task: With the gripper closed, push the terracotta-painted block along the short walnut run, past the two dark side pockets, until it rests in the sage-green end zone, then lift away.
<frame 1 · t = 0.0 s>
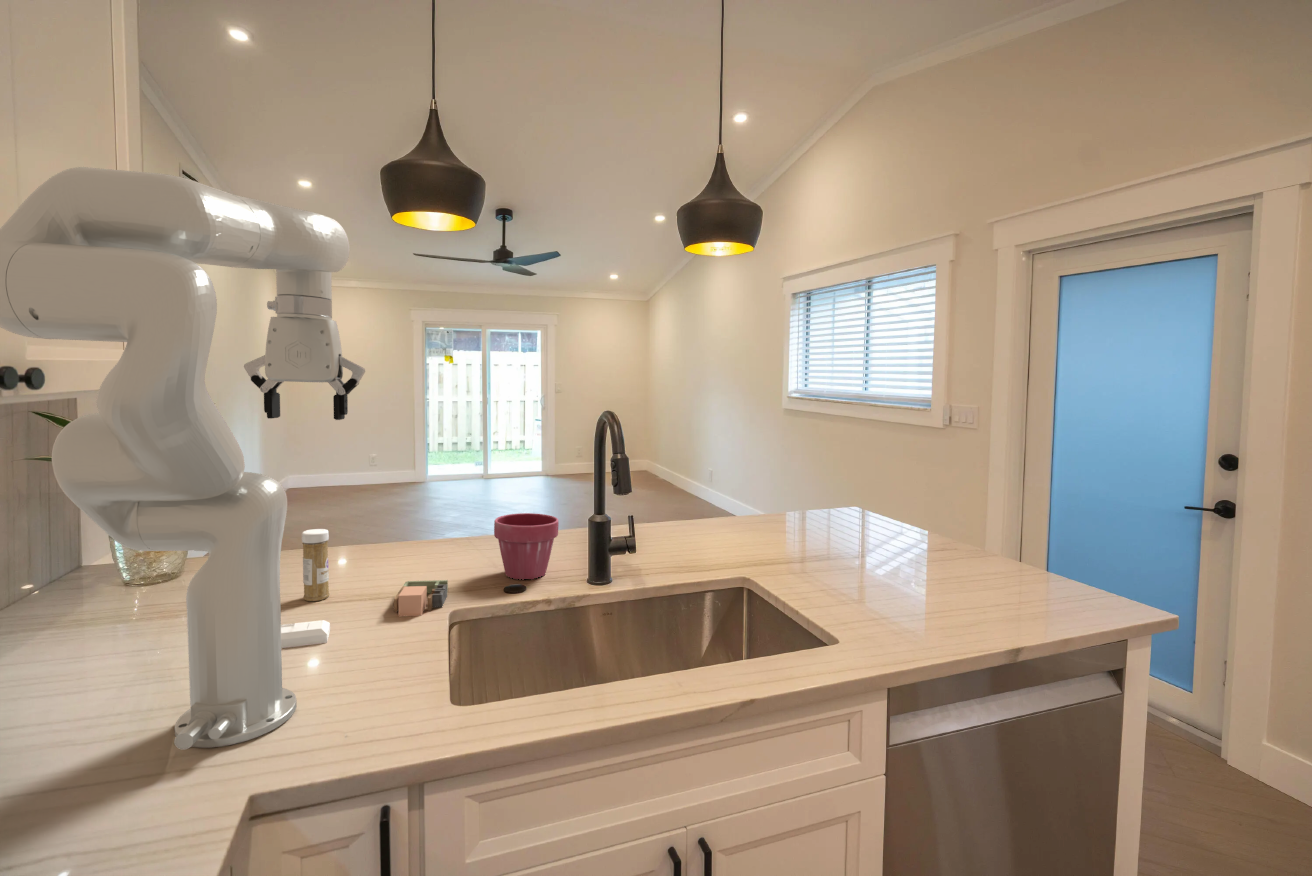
hand: (306, 418, 96), 37 cm above the worktop, tool pointing down, fingers open, 9 cm apart
block: (412, 611, 113), on the worktop
white boxy piece: (297, 643, 99), on the worktop
sprinkles bottle: (316, 598, 118), on the worktop
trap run: (419, 601, 118), on the worktop
plant pot: (525, 574, 137), on the worktop
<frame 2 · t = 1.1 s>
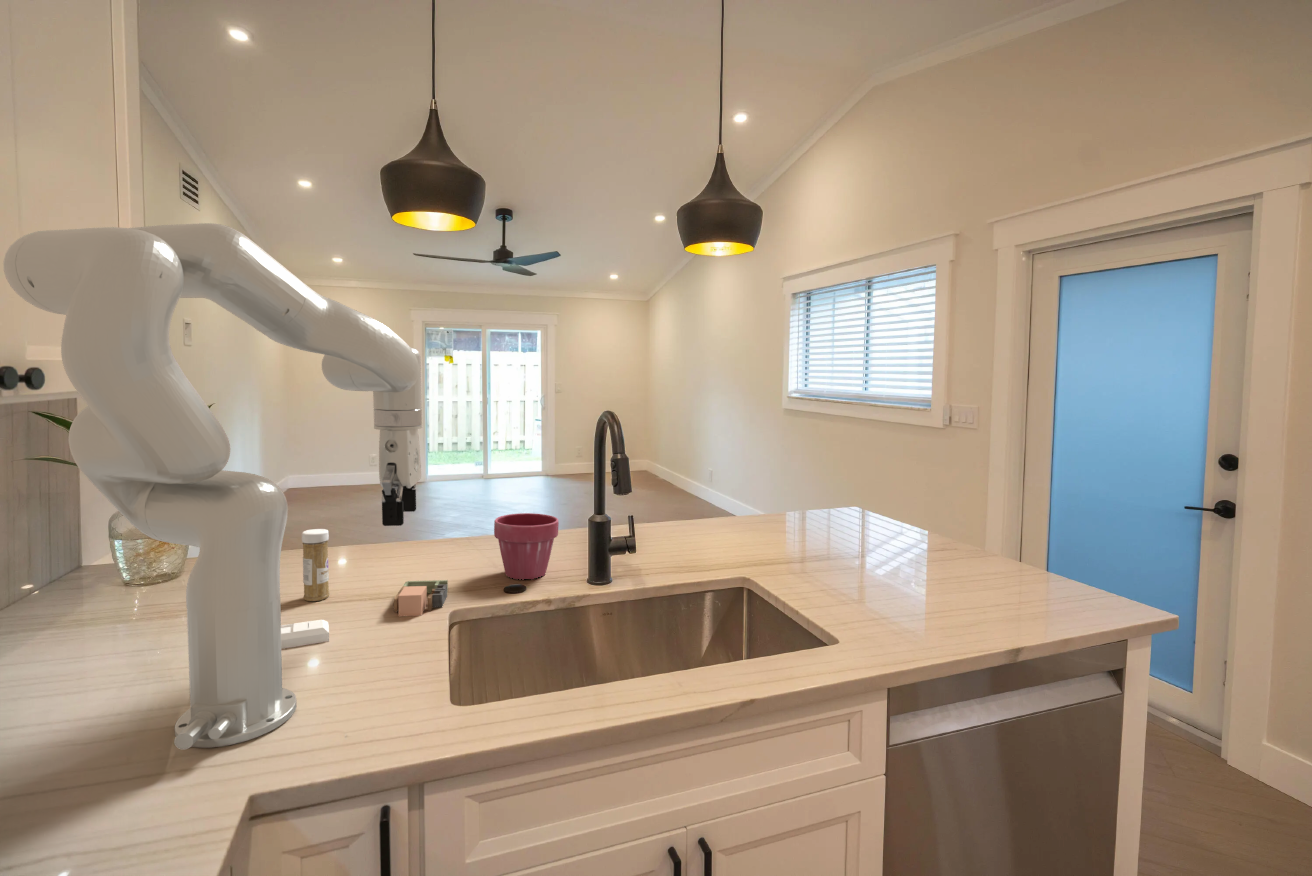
hand: (400, 517, 104), 20 cm above the worktop, tool pointing down, fingers open, 9 cm apart
nothing on the worktop moved.
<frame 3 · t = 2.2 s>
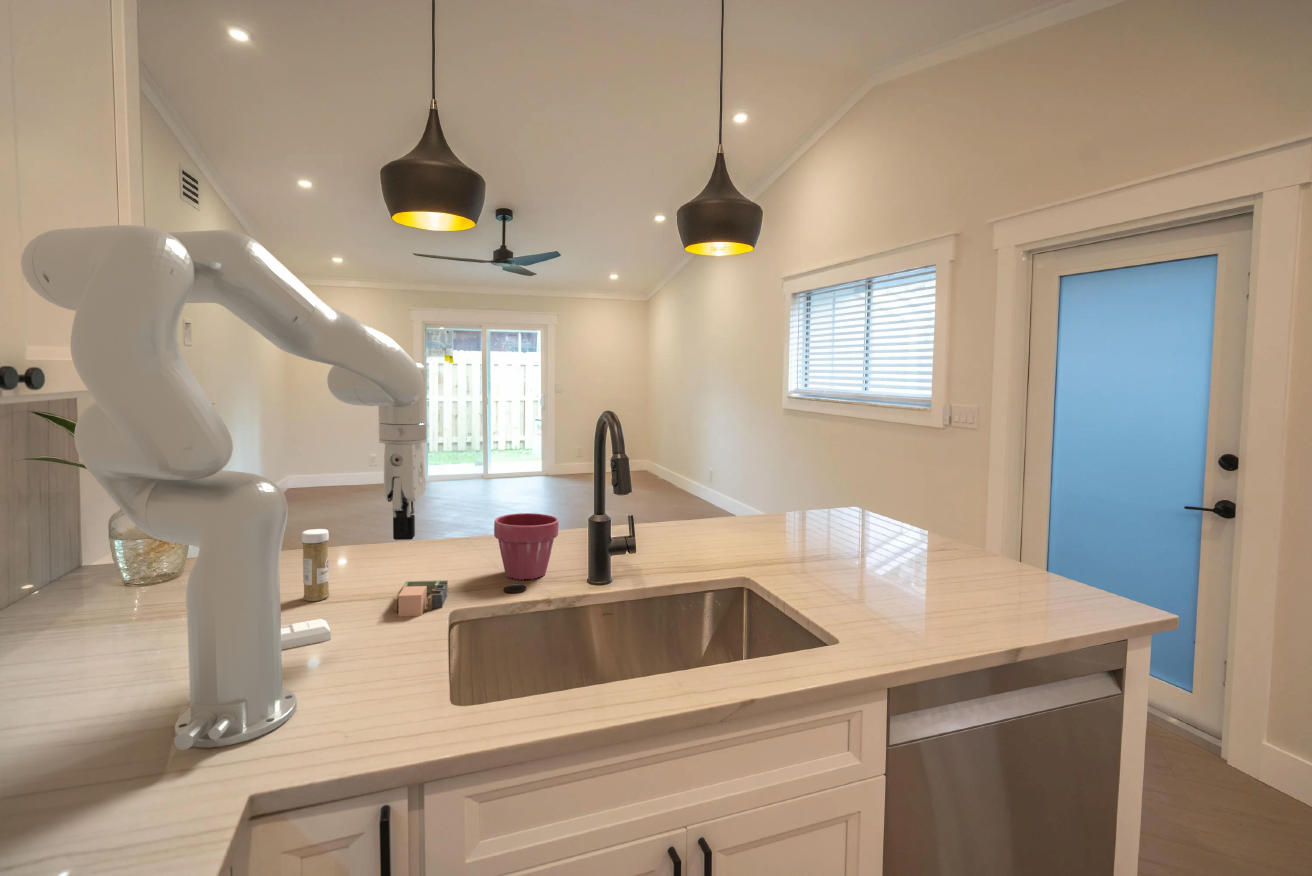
hand: (404, 538, 104), 16 cm above the worktop, tool pointing down, fingers closed
nothing on the worktop moved.
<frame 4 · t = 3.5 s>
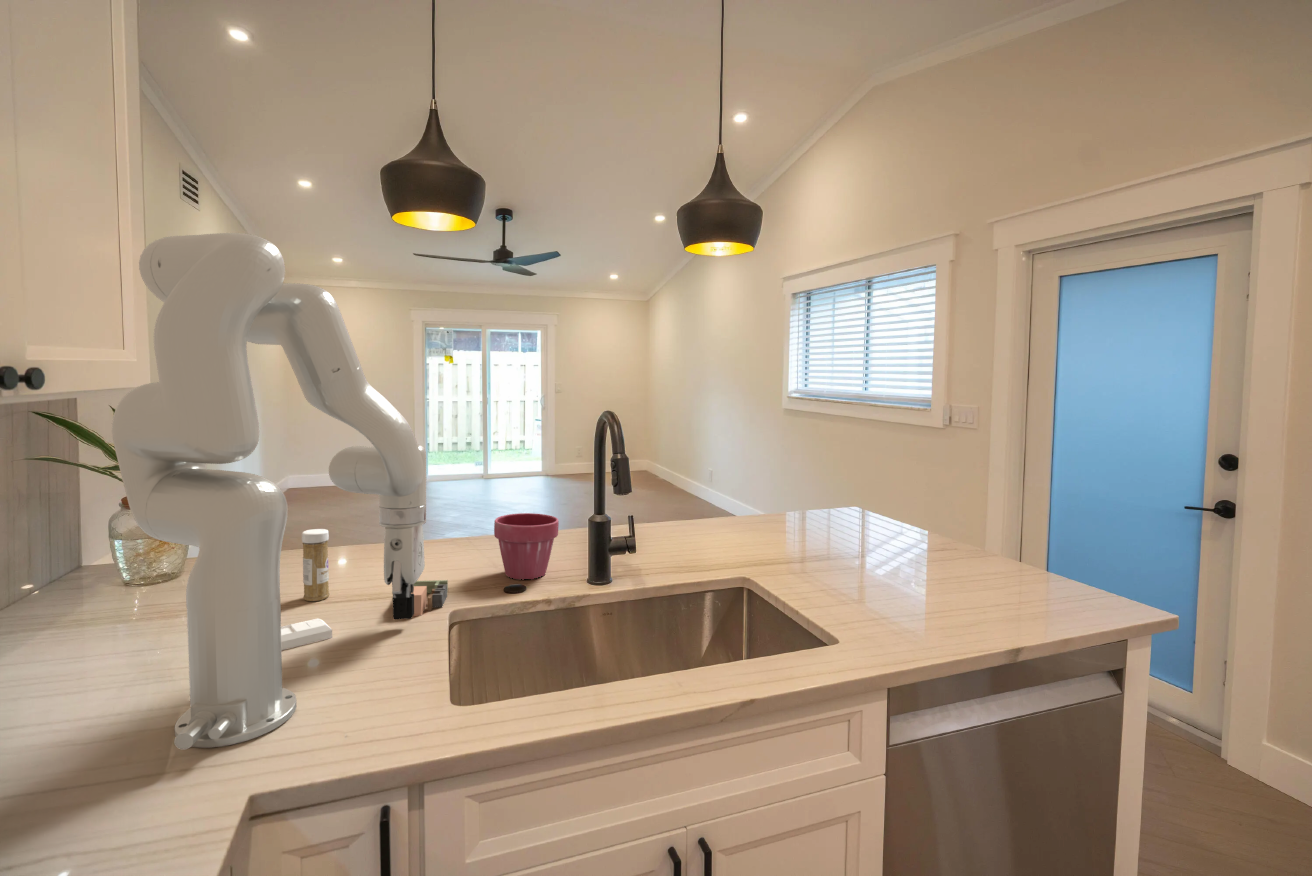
hand: (403, 617, 105), 2 cm above the worktop, tool pointing down, fingers closed
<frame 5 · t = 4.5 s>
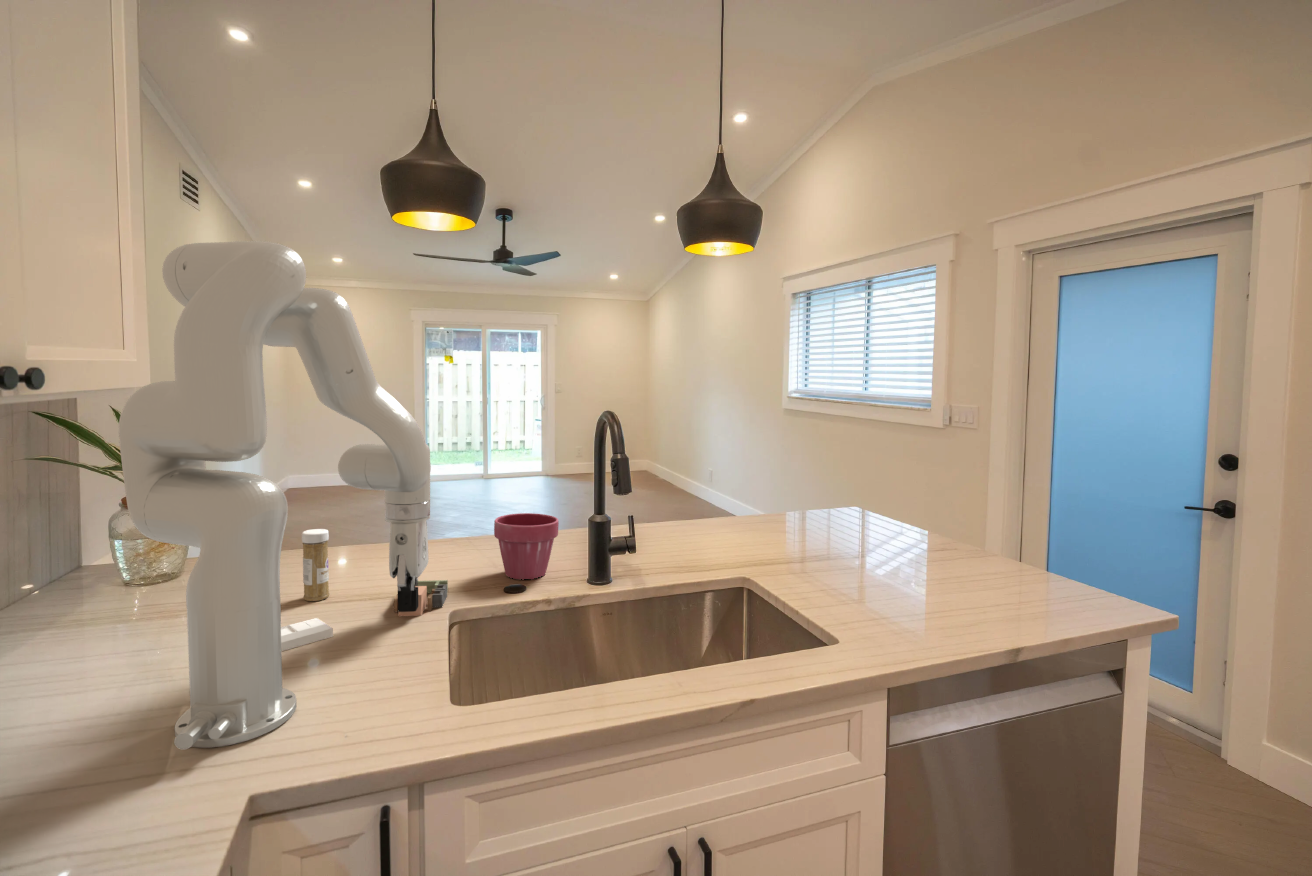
hand: (408, 609, 109), 2 cm above the worktop, tool pointing down, fingers closed
block: (412, 611, 113), on the worktop, touching gripper
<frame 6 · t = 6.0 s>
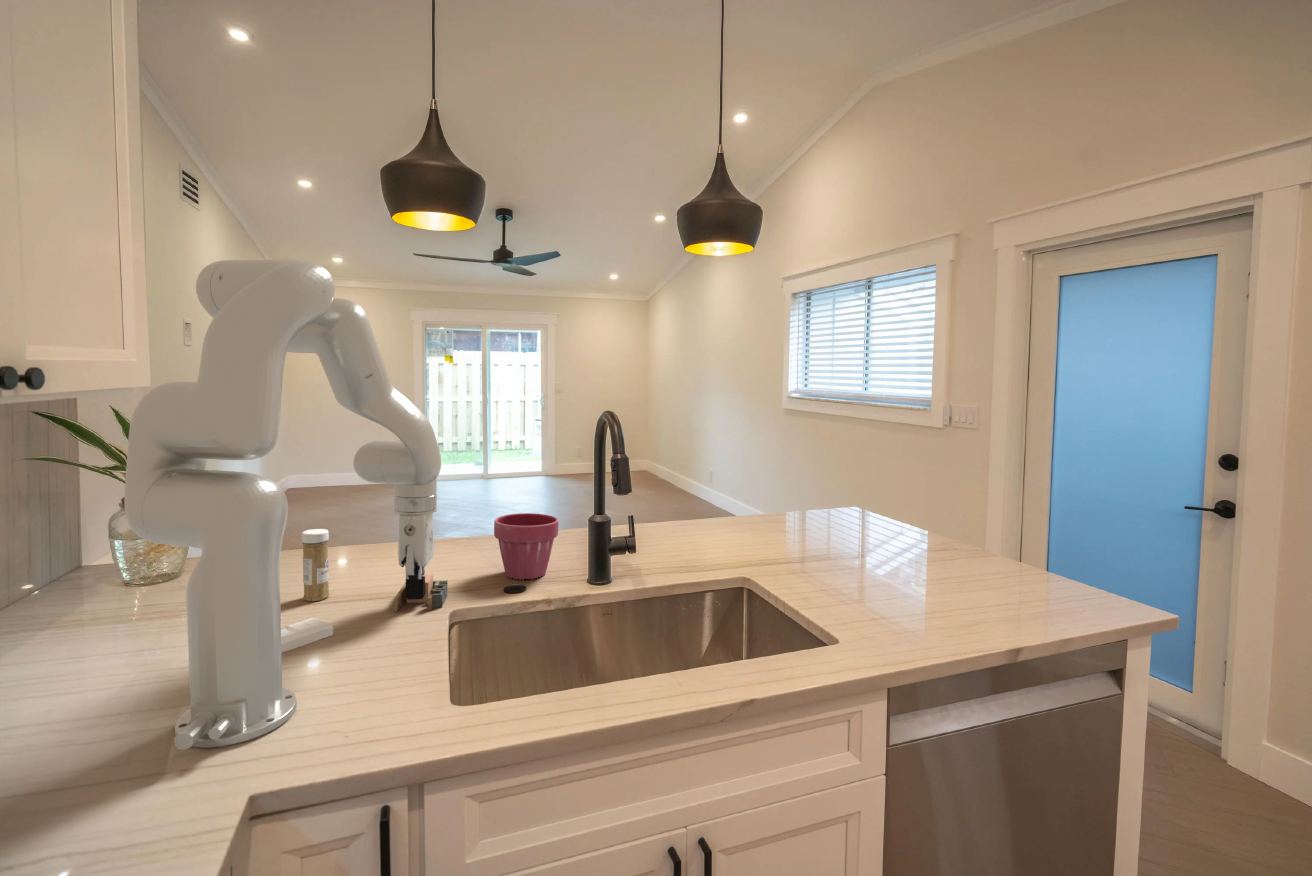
hand: (415, 597, 115), 2 cm above the worktop, tool pointing down, fingers closed
block: (420, 598, 120), on the worktop, touching gripper, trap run
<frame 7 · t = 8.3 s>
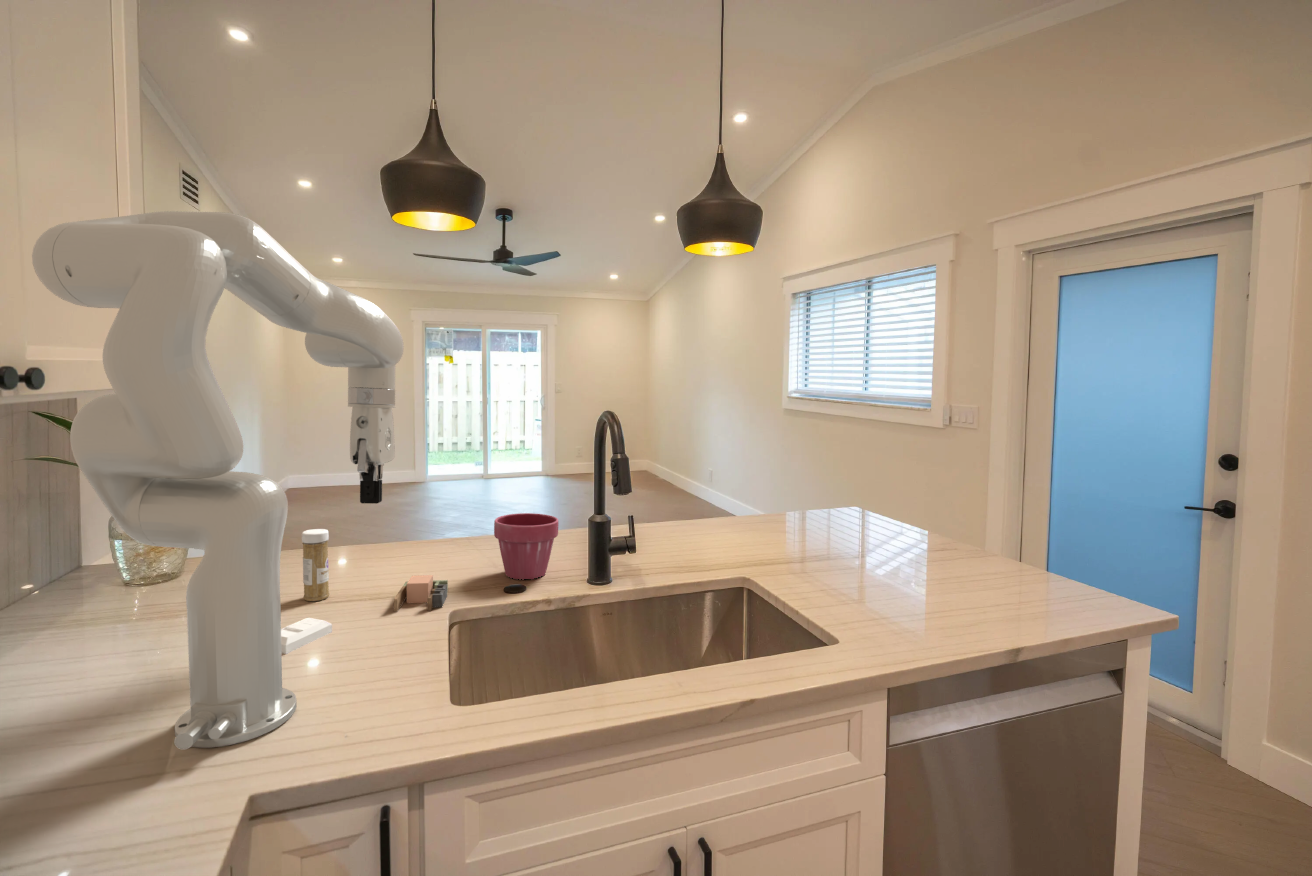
hand: (371, 502, 106), 22 cm above the worktop, tool pointing down, fingers closed
block: (420, 598, 120), on the worktop
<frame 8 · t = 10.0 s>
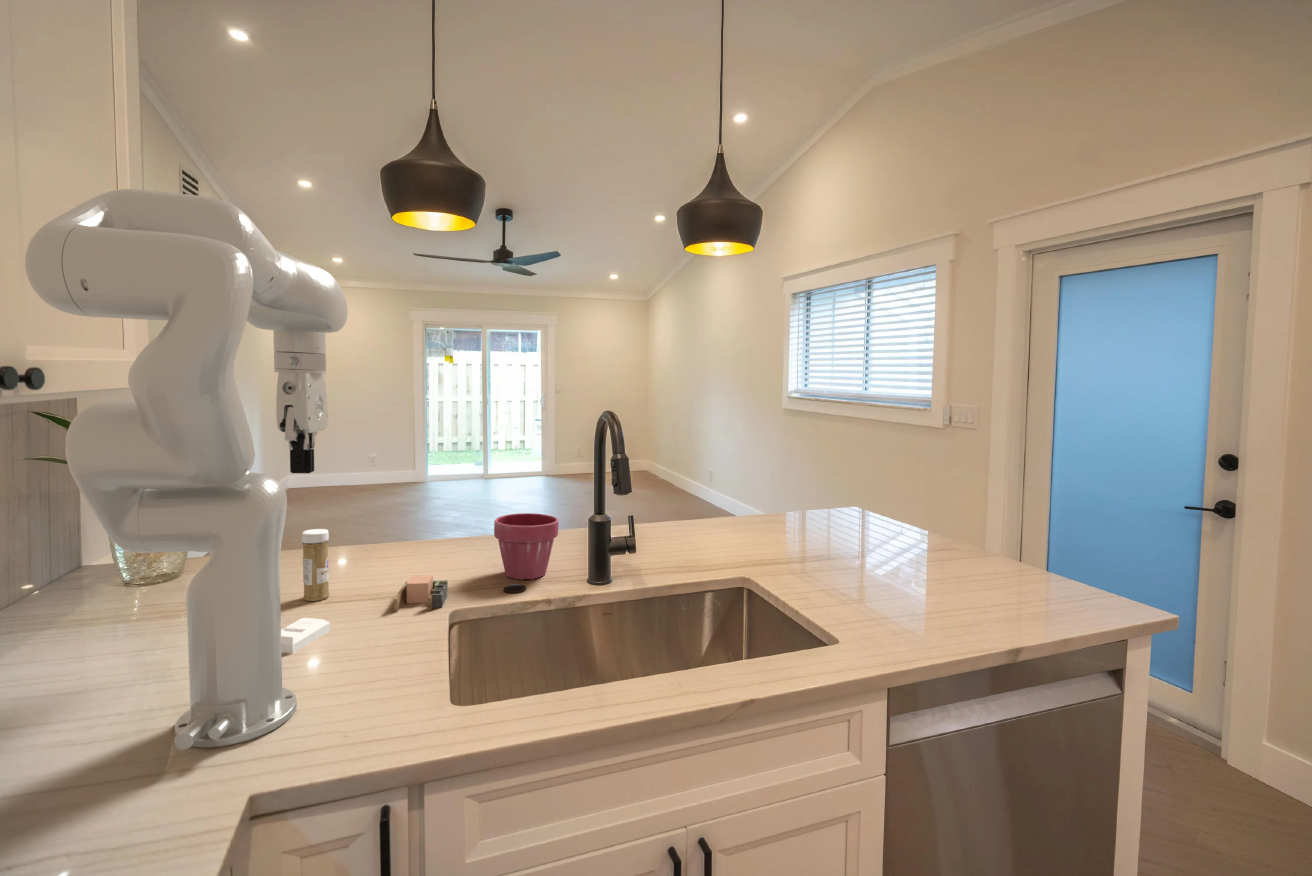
hand: (302, 472, 102), 27 cm above the worktop, tool pointing down, fingers closed
at the end: block 0.1 cm from the target spot, on the worktop; block moved 6.7 cm from its start; block tilted 0° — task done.
